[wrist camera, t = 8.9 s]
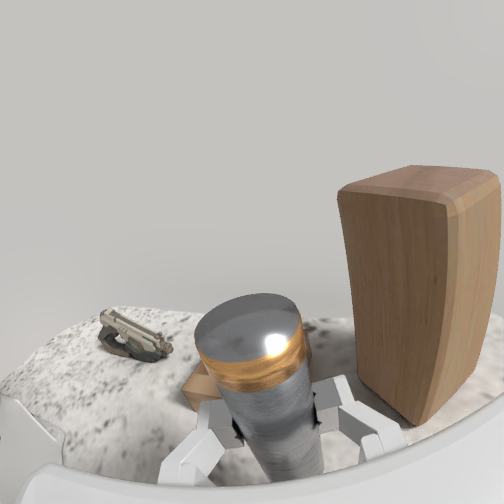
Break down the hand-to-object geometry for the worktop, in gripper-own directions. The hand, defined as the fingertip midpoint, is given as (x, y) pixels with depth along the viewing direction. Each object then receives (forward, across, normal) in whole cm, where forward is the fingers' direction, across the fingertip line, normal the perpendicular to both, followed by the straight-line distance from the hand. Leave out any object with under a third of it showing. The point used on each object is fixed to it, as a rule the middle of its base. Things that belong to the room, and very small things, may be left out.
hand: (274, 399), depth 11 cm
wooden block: (+9, -13, +14) cm, 21 cm away
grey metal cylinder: (-1, 0, +6) cm, 6 cm away
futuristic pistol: (+24, +22, +15) cm, 36 cm away
